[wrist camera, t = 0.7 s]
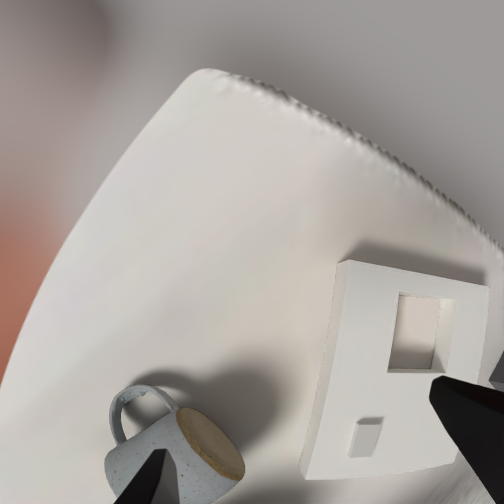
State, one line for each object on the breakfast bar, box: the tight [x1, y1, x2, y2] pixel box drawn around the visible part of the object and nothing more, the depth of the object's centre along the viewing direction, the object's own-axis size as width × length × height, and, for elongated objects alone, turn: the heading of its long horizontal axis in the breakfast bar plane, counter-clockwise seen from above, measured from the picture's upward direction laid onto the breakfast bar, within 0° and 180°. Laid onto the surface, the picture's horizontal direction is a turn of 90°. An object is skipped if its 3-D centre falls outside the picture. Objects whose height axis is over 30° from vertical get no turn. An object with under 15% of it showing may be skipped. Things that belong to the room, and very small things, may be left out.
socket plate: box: [299, 259, 490, 480], centre depth 22 cm, size 18×16×3 cm
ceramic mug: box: [104, 384, 245, 504], centre depth 18 cm, size 11×8×8 cm
